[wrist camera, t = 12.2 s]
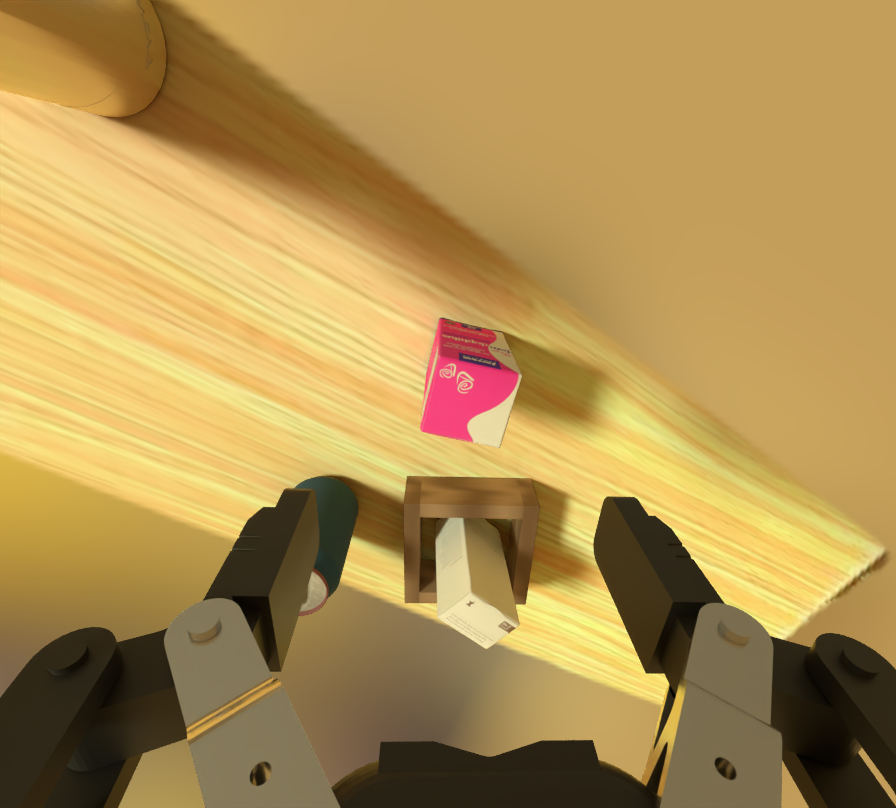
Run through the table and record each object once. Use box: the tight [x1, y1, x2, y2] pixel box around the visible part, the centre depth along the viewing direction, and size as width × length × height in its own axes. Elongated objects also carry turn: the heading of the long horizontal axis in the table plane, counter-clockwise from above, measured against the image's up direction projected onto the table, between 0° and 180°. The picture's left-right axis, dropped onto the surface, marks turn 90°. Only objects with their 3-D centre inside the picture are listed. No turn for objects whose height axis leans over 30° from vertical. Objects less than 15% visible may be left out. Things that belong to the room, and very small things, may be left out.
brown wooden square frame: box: [404, 476, 540, 604], centre depth 46 cm, size 13×13×4 cm
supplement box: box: [420, 318, 522, 448], centre depth 35 cm, size 6×6×12 cm
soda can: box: [294, 476, 358, 616], centre depth 41 cm, size 7×7×12 cm
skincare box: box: [435, 518, 520, 649], centre depth 42 cm, size 6×4×12 cm
